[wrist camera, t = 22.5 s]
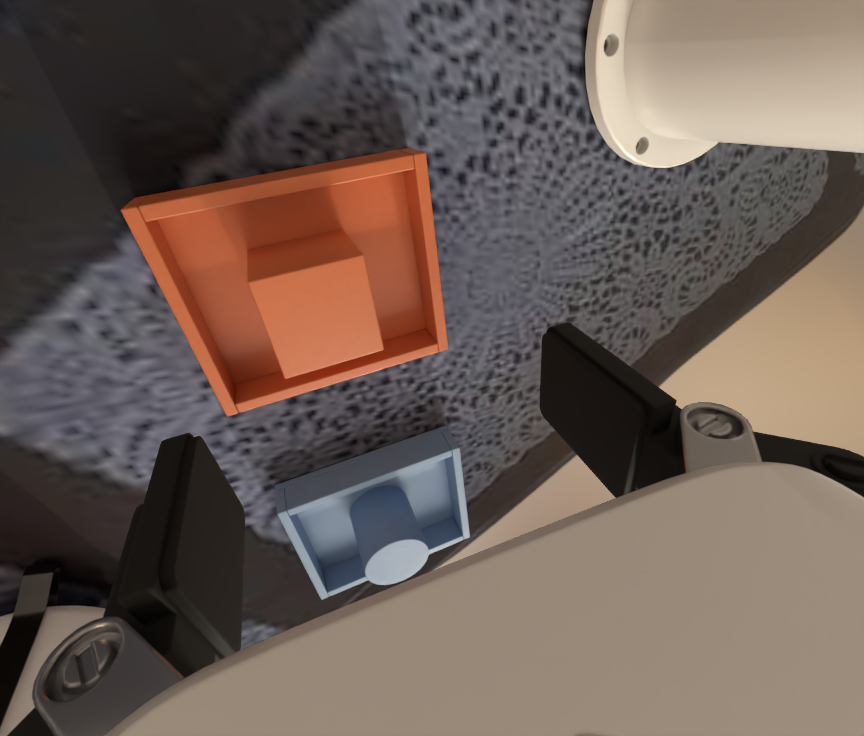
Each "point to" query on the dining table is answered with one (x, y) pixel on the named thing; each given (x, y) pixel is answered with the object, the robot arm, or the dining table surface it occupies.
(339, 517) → the blue tray
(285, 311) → the terracotta block
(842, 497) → the robot arm
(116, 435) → the dining table surface
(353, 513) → the blue cylinder
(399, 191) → the terracotta tray
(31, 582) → the coffee press
